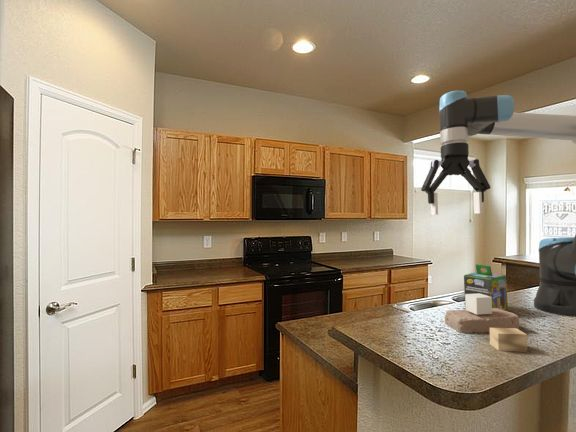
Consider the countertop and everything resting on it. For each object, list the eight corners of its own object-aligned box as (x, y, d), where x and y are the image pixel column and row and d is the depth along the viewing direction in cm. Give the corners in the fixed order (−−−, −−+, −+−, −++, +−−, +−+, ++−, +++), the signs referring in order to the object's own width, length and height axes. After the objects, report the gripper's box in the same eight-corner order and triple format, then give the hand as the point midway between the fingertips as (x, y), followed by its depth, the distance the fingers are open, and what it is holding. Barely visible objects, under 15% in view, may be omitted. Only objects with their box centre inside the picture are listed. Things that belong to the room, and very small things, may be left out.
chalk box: (508, 311, 103) (507, 265, 103) (492, 315, 99) (491, 267, 99) (479, 304, 111) (478, 261, 111) (463, 308, 107) (462, 264, 107)
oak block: (516, 345, 76) (516, 328, 76) (527, 352, 72) (526, 334, 72) (489, 344, 77) (489, 327, 77) (498, 351, 73) (498, 333, 73)
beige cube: (480, 309, 92) (479, 293, 92) (492, 313, 87) (491, 297, 87) (465, 310, 91) (465, 294, 91) (476, 314, 87) (476, 297, 87)
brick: (460, 335, 84) (459, 317, 84) (443, 324, 93) (443, 308, 93) (521, 333, 85) (521, 315, 85) (499, 323, 93) (498, 307, 93)
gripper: (485, 146, 102) (487, 213, 102) (408, 147, 101) (410, 215, 101) (502, 140, 95) (505, 212, 94) (419, 141, 93) (421, 214, 93)
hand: (456, 214), depth 98 cm, fingers open, 13 cm apart
